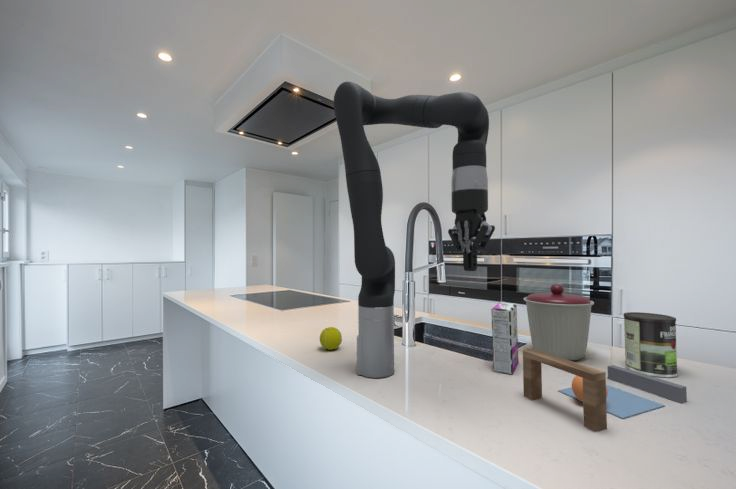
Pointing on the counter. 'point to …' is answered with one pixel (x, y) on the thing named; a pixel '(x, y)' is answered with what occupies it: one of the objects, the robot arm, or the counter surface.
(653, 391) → the stopper
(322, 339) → the tennis ball
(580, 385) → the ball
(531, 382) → the bridge
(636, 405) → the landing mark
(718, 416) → the counter surface
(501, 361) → the candy bar box
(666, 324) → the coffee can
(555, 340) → the canister
